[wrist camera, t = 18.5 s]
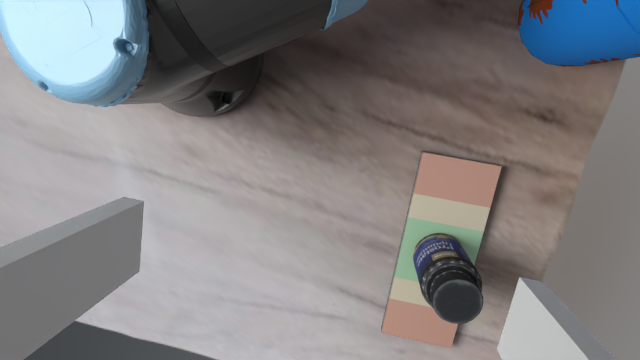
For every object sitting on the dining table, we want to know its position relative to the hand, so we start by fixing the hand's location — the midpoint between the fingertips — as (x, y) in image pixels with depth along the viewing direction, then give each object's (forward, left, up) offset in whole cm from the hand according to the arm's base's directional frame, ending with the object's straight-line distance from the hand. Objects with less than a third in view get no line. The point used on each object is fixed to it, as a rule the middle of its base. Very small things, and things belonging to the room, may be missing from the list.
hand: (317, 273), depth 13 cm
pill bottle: (+13, -11, -34) cm, 38 cm away
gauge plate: (+13, -11, -35) cm, 38 cm away
